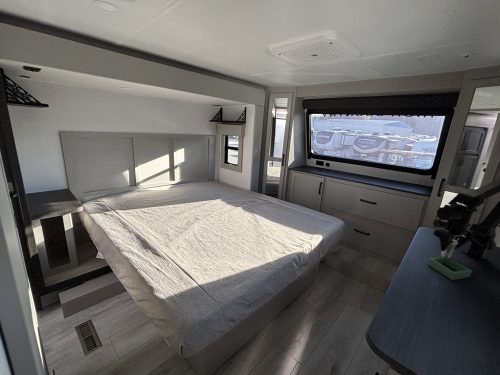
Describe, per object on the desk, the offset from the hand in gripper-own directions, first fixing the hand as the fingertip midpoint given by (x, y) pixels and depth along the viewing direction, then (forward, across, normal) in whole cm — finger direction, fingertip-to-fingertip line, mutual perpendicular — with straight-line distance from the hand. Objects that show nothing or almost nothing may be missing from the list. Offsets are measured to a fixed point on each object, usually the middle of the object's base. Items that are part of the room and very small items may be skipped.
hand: (448, 250), depth 103 cm
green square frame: (+4, +11, +8) cm, 14 cm away
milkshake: (+4, 0, 0) cm, 4 cm away
